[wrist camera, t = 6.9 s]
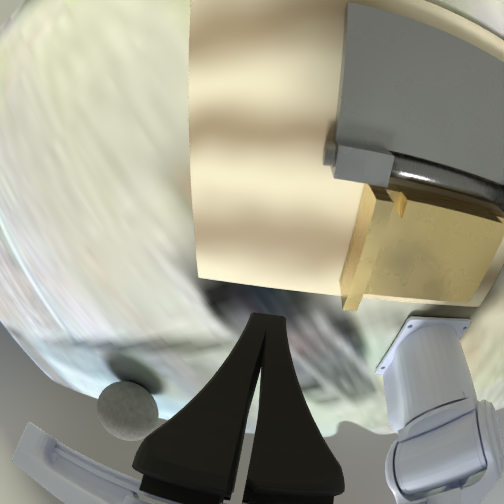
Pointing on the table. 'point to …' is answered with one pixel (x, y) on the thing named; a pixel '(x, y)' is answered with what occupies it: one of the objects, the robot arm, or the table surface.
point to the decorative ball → (127, 410)
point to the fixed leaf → (417, 107)
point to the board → (285, 141)
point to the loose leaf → (418, 246)
